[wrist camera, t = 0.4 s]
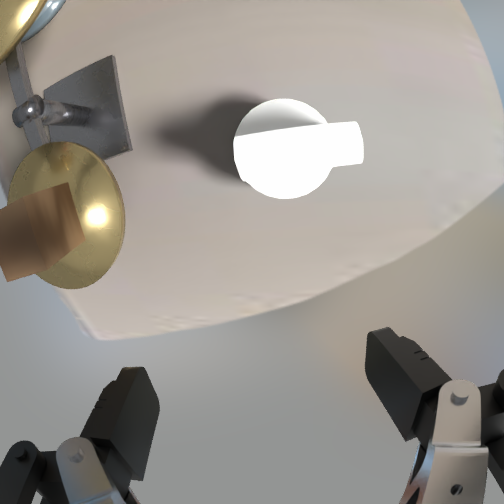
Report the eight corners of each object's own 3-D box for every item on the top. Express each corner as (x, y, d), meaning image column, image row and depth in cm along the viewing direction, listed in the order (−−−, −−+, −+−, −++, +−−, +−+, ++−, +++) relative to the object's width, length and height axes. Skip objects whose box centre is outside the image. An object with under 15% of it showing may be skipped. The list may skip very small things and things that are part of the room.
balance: (37, 35, 20) (-41, 8, 4) (119, -9, 20) (62, -74, 4) (79, 258, 32) (5, 330, 16) (168, 235, 31) (117, 315, 16)
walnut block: (28, 200, 19) (-16, 219, 13) (68, 181, 18) (22, 196, 13) (45, 253, 20) (7, 282, 15) (85, 239, 20) (47, 269, 15)
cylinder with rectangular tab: (242, 196, 30) (247, 225, 19) (226, 115, 27) (221, 94, 16) (321, 182, 30) (369, 203, 19) (309, 103, 27) (352, 81, 16)
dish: (33, -27, 14) (29, -30, 12) (91, -35, 16) (87, -39, 15) (-9, 44, 18) (-14, 43, 17) (40, 45, 21) (35, 43, 19)
